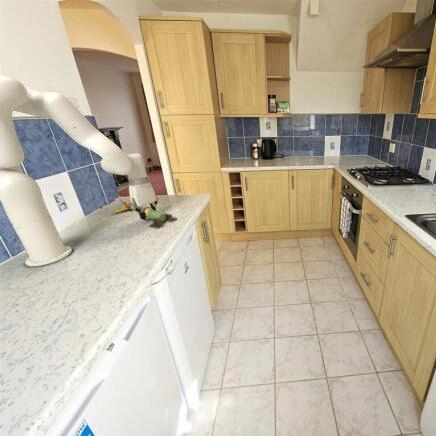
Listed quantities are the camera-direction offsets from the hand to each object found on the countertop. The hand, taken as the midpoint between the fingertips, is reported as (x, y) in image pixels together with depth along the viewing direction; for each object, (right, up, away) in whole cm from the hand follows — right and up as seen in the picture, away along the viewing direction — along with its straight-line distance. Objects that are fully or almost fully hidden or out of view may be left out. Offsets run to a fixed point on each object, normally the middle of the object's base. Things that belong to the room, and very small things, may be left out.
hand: (149, 216), depth 119 cm
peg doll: (+8, 0, -4) cm, 9 cm away
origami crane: (-20, +4, +16) cm, 26 cm away
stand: (+9, -3, -3) cm, 9 cm away
